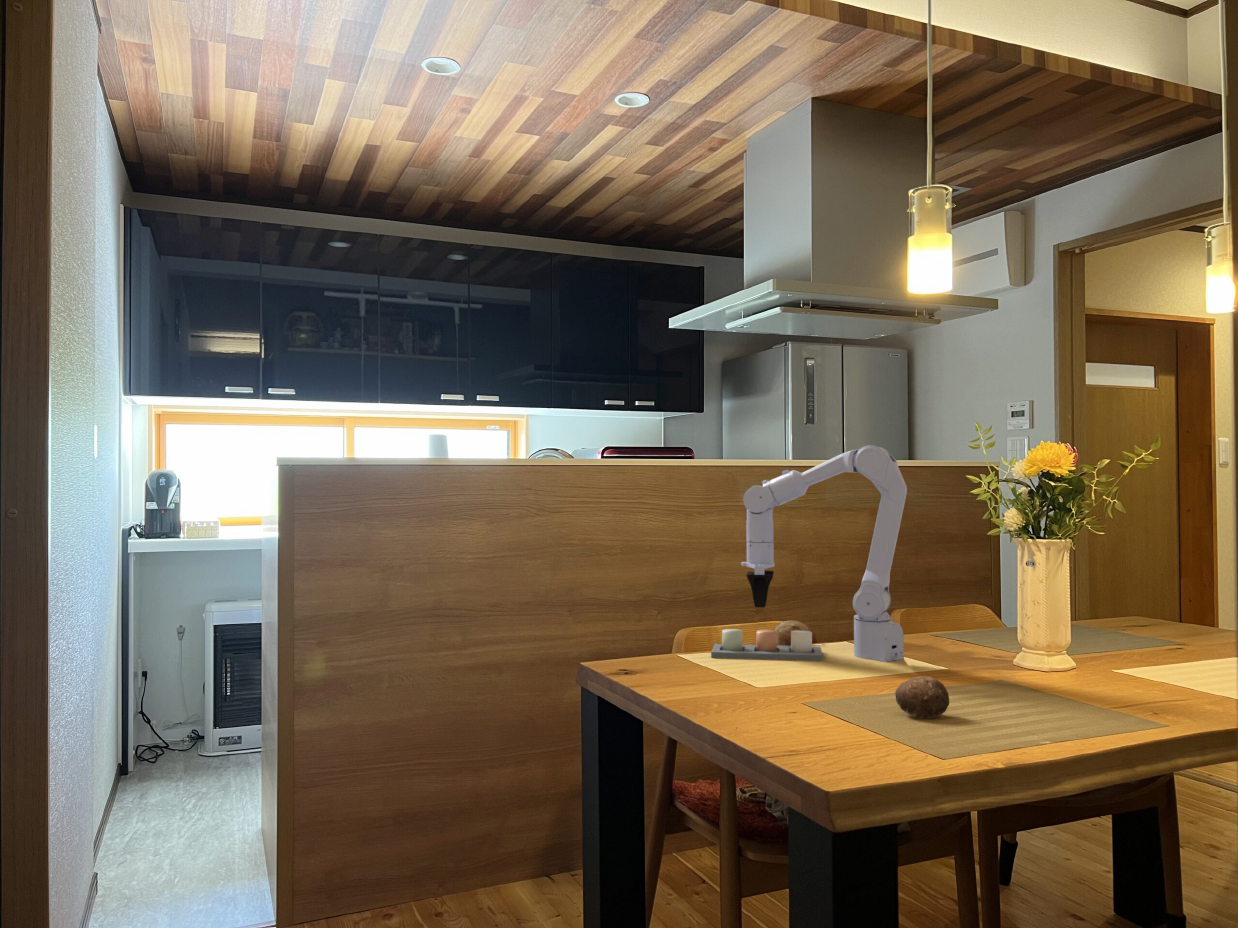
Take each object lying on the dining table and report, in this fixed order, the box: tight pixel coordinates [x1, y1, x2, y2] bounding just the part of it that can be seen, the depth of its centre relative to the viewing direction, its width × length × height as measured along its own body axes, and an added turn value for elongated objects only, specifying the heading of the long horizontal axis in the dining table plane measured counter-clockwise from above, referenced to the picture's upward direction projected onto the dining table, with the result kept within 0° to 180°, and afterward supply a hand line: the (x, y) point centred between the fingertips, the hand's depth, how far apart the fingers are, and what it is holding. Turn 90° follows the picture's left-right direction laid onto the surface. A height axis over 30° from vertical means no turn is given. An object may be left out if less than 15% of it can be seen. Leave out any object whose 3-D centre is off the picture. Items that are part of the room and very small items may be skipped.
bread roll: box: [773, 620, 818, 646], centre depth 209 cm, size 10×10×8 cm
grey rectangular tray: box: [710, 643, 824, 662], centre depth 192 cm, size 22×10×2 cm, turn 80°
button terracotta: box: [755, 629, 778, 652], centre depth 192 cm, size 4×4×5 cm
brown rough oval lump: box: [894, 675, 950, 719], centre depth 148 cm, size 8×8×6 cm
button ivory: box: [791, 631, 813, 653], centre depth 191 cm, size 4×4×5 cm
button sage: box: [721, 628, 744, 651], centre depth 194 cm, size 4×4×5 cm
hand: (760, 605), depth 201 cm, fingers open, 4 cm apart
